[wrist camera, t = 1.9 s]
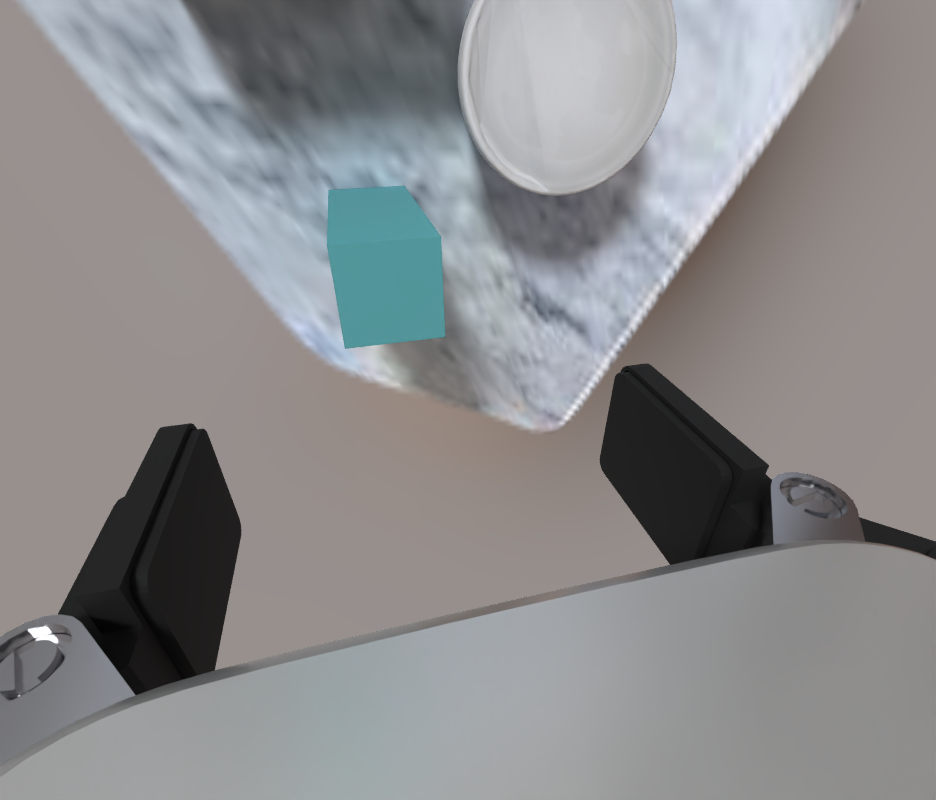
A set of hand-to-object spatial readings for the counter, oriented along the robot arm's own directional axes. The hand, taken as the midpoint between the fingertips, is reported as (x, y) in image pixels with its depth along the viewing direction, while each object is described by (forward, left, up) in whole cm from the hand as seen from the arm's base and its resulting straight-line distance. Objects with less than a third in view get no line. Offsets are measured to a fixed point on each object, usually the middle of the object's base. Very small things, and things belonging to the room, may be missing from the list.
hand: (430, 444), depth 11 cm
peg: (0, 0, -23) cm, 23 cm away
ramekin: (-11, -7, -23) cm, 27 cm away
